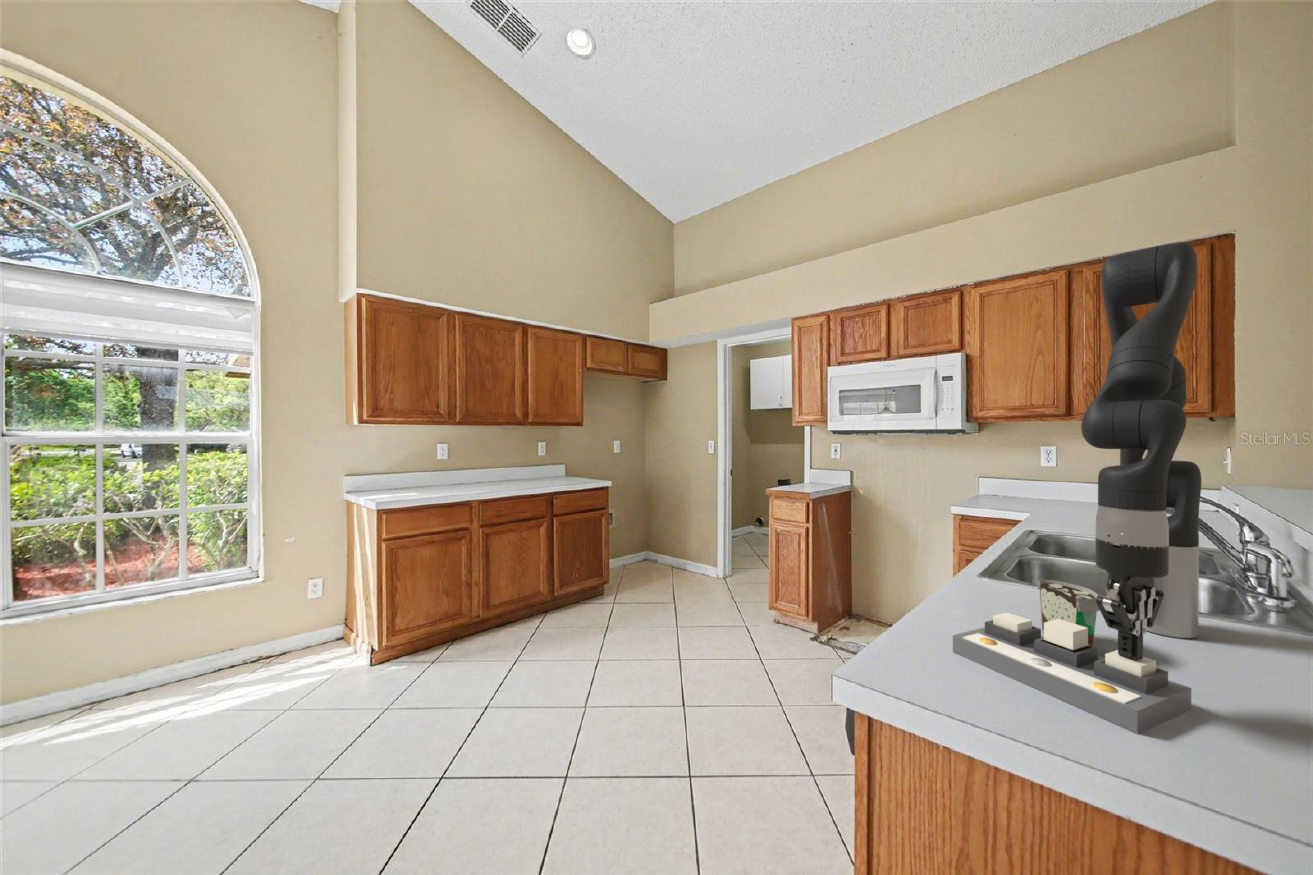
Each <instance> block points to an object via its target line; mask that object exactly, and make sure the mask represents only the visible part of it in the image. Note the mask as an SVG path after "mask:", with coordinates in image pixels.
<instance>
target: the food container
mask: <svg viewBox="0 0 1313 875" xmlns="http://www.w3.org/2000/svg"><path fill="white" fill-rule="evenodd" d="M1037 583H1038V584H1037V589H1038V590H1039V602H1040V603H1039V604H1040V605H1039V606H1040V618H1041V619H1040V621H1041V633H1043V632H1044V623H1045V622H1049V621H1052V620H1056V619H1061V620H1064V621H1067V622H1070V623H1074V624H1077V625H1080V626H1083V627H1086V628H1088V645H1090V646H1093V645H1094V639H1095V638H1094V637H1095V631H1096V630H1095V629H1096V623H1097V622H1096V620H1097V614H1098V612H1099V611H1100V609H1099V607H1098V605H1097V603H1096V598H1097V597H1098V596H1099V594H1098V593H1097V592H1095V591H1094V590H1092V589H1091V588H1087V587H1085V586H1081V585H1078V584H1073V583H1069V582H1066V581H1065V582H1064V581H1058V580H1052V579H1051V580H1050V579H1038V582H1037ZM1093 647H1094V646H1093Z"/></svg>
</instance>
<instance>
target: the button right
mask: <svg viewBox="0 0 1313 875" xmlns="http://www.w3.org/2000/svg"><path fill="white" fill-rule="evenodd" d="M1104 656H1105V657H1104V658H1105V664H1107V665H1110V666H1112V667H1115V668H1118V669H1121V670H1124V671H1126V672H1129V673H1132V674H1135V675H1138V676H1140V677H1143V678H1144V677H1146V676H1149V675H1152V674H1154V673H1156V668H1157V660H1155V659H1152V658H1149V657H1145V656H1143V658H1142V659H1140V660H1137V661H1133V660H1130V659H1127V658H1124V657H1121V656H1120V655H1119V654H1118V649H1116V650H1114V651H1110V652H1107V653H1105V654H1104Z"/></svg>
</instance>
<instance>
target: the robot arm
mask: <svg viewBox="0 0 1313 875" xmlns="http://www.w3.org/2000/svg"><path fill="white" fill-rule="evenodd" d="M1197 260H1198V259H1197V254H1196V251H1195V249H1194V246H1193V245H1192V244H1190V243H1189V242H1186V241H1185V242H1183V241H1182V242H1181V241H1179V242H1172V243H1167V244H1161V245H1156V246H1155V245H1154V246H1152V247H1146V248H1142V249H1137V250H1132V251H1127V252H1123V253H1119V254H1116V255H1115V254H1114V255H1112V256H1110V257H1108V258H1107V259H1106V260H1105V261H1104V263H1103V266H1102V268H1101V276H1100V277H1101V279H1100V280H1101V282H1100V283H1101V290H1102V298H1103V303H1104V309H1105V314H1106V319H1107V320H1106V321H1107V325H1108V331H1109V337H1110V343H1111V351H1110V355H1109V357H1108V363H1107V365H1108V366H1107V370H1106V376H1105V380H1104V383H1103V384H1102V386H1101V388H1100V389H1099V391H1098V392H1097V394H1096V396H1095V397H1094V398H1093V400H1092V401H1091V402H1090V404H1089V405H1088V407H1087V409H1086V410H1085V412H1084V414H1083V417H1082V420H1081V425H1080V428H1081V429H1080V430H1081V434H1082V436H1083V437H1082V438H1084V440H1085V441H1086V443H1087V444H1088V445H1090V446H1092V447H1094V448H1097V449H1102V450H1119V461H1120V462H1119V464H1117V465H1111V466H1107V467H1103V468H1101V469H1100V470H1099V472H1098V477H1097V511H1096V515H1095V538H1094V539H1095V545H1094V546H1095V557H1094V558H1095V565H1096V566H1097V567H1098V569H1101V570H1104V571H1106V572H1107V574H1108V577H1107V581H1106V585H1105V586H1106V588H1105V589H1106V595H1105V596H1099V595H1098V597H1097V598H1096V603H1097V605H1098V607H1099V609H1100V610H1099V611H1100V613H1101V616H1102V618H1103V619H1104V621H1105V623H1106V625H1107V628H1110V629H1114V631H1115V630H1116V631H1117V650H1118V654H1119V655H1120V656H1121V657H1124V658H1127V659H1130V660H1133V661H1137V660H1140V659H1142V658H1143V657H1144V635H1146V633H1147V632H1150V633H1153V634H1156V635H1161V636H1166V637H1170V638H1171V637H1173V638H1180V639H1195V638H1198V636H1199V620H1200V619H1199V616H1200V614H1199V612H1200V610H1199V605H1200V604H1199V598H1200V596H1199V594H1200V592H1199V590H1200V588H1199V587H1200V585H1199V584H1200V583H1199V580H1200V579H1199V578H1200V575H1199V574H1200V567H1199V566H1200V561H1199V557H1200V556H1199V554H1200V552H1199V551H1200V550H1199V549H1200V535H1199V532H1200V531H1199V515H1200V506H1201V505H1200V502H1201V492H1202V472H1201V470H1200V467H1199V465H1197V464H1196V463H1195V462H1193V461H1187V460H1185V461H1184V460H1173V458H1174V455H1175V453H1176V451H1177V448H1178V446H1179V444H1180V443H1181V439H1182V437H1183V435H1184V433H1185V430H1186V426H1187V416H1186V413H1185V411H1184V408H1185V406H1186V403H1187V378H1186V373H1187V372H1186V369H1185V366H1184V365H1183V363H1182V362H1181V361H1180V360H1179V359H1178V358H1177V356H1176V355H1175V350H1176V345H1177V342H1178V339H1179V336H1180V335H1179V334H1180V332H1181V331H1182V330H1181V329H1182V326H1183V325H1184V321H1185V319H1186V316H1187V313H1188V310H1189V306H1190V303H1191V300H1192V298H1193V297H1192V296H1193V294H1194V291H1195V288H1196V283H1197V274H1198V262H1197ZM1149 304H1156V305H1154V306H1153V308H1152V309H1151V310H1150V311H1149V312H1147V313H1146V315H1144V316H1143V317H1142V318H1141V319H1140V320H1139V319H1138V318H1137V316H1136V314H1135V311H1134V309H1133V307H1136V306H1137V307H1138V306H1143V305H1149ZM1146 451H1147V453H1146V455H1145V452H1146ZM1144 455H1145V457H1144ZM1143 457H1144V458H1143ZM1167 508H1169V509H1174V512H1173V513H1172V514H1171V515H1169V516H1167Z"/></svg>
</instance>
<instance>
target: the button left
mask: <svg viewBox="0 0 1313 875" xmlns="http://www.w3.org/2000/svg"><path fill="white" fill-rule="evenodd" d="M992 620H993V624H995V625H998V626H1001V627H1003V628H1006V629H1009V630H1012V631H1015V632H1017V633H1020V632H1024V631H1027V630H1031V629H1032V626H1033V620H1032V619H1029V618H1025V617H1023V616H1019V615H1016V614H1013V613H1010V612H1004V613H1000V614H995V615H993V616H992Z"/></svg>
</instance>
